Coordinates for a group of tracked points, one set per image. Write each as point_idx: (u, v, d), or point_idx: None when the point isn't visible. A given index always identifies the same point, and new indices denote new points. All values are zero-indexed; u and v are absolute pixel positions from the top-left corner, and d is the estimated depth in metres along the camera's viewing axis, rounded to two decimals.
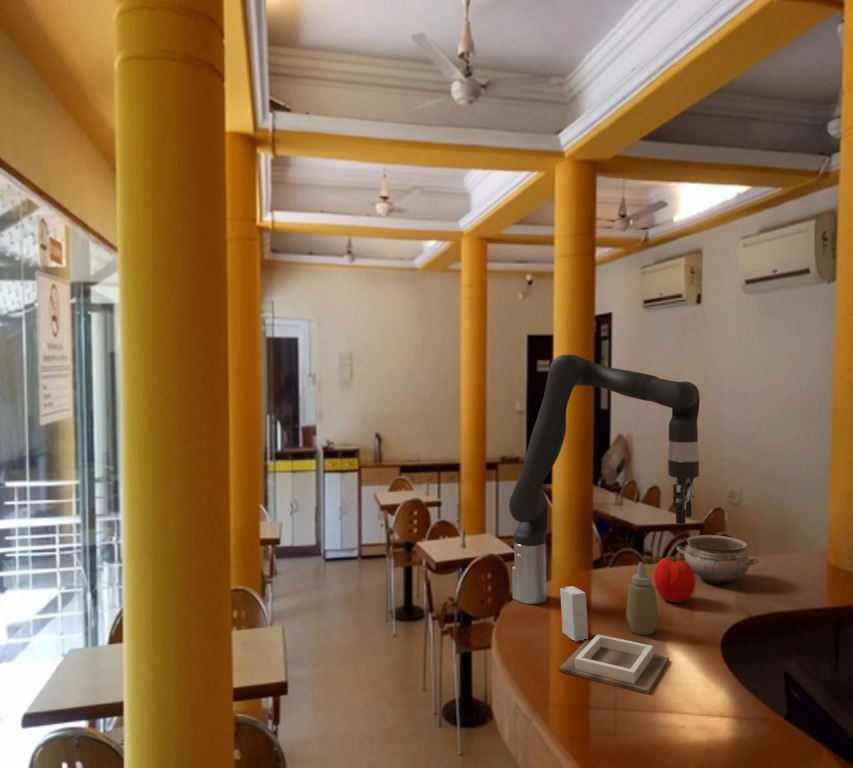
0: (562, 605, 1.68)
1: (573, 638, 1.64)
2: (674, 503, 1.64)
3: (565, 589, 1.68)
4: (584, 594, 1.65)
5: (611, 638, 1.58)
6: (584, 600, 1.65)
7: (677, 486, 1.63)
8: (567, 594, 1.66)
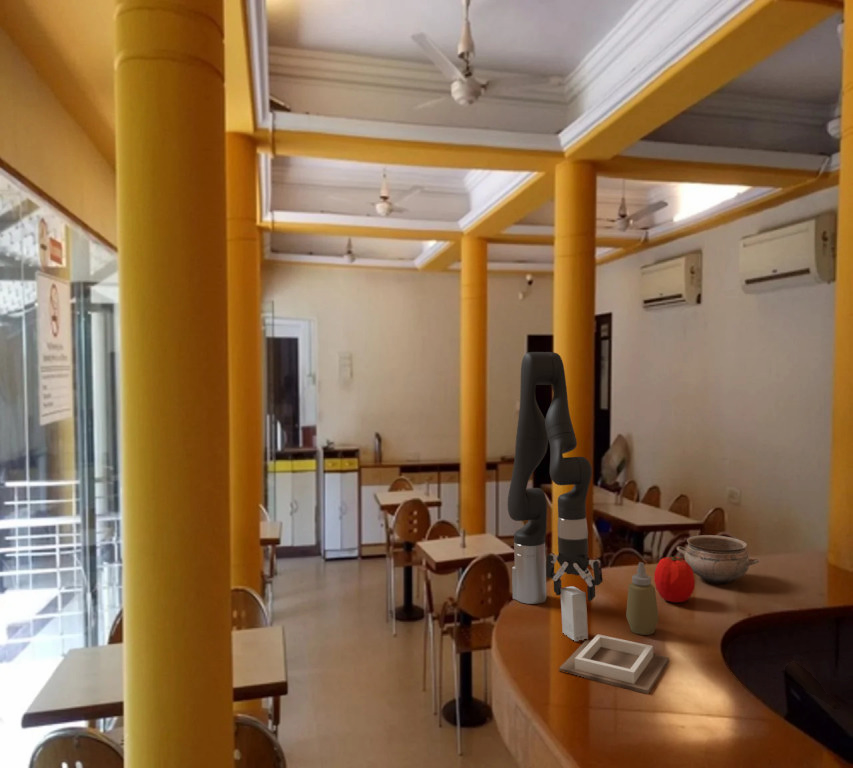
0: (562, 605, 1.68)
1: (573, 638, 1.64)
2: None
3: (565, 589, 1.68)
4: (584, 594, 1.65)
5: (611, 638, 1.58)
6: (584, 600, 1.65)
7: (598, 562, 1.63)
8: (567, 594, 1.66)
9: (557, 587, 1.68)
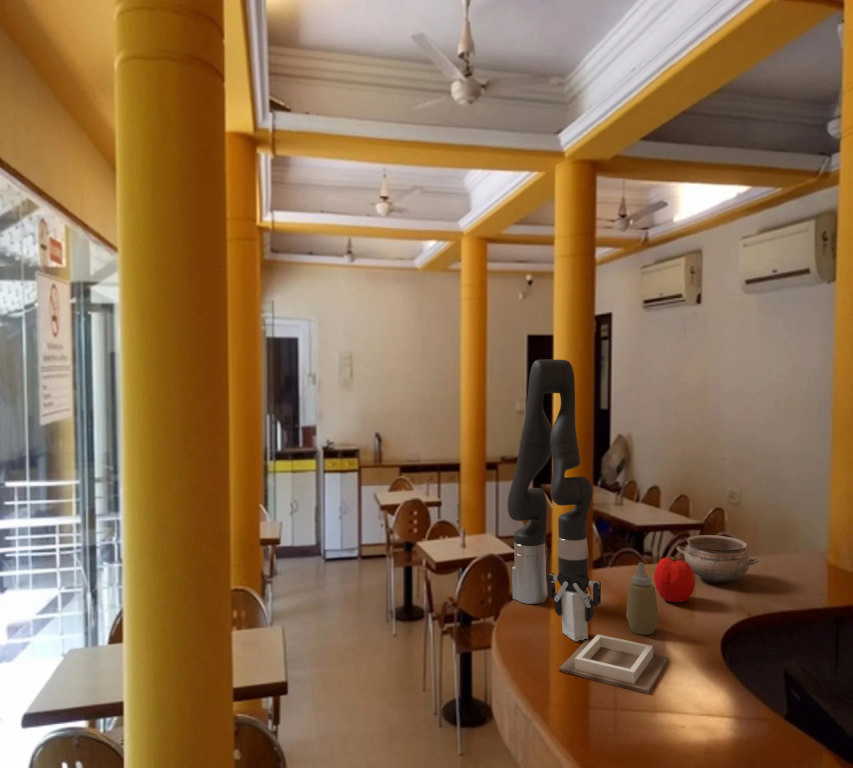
0: (562, 605, 1.68)
1: (573, 638, 1.64)
2: None
3: None
4: None
5: (611, 638, 1.58)
6: None
7: (598, 584, 1.63)
8: (567, 594, 1.66)
9: (558, 607, 1.68)
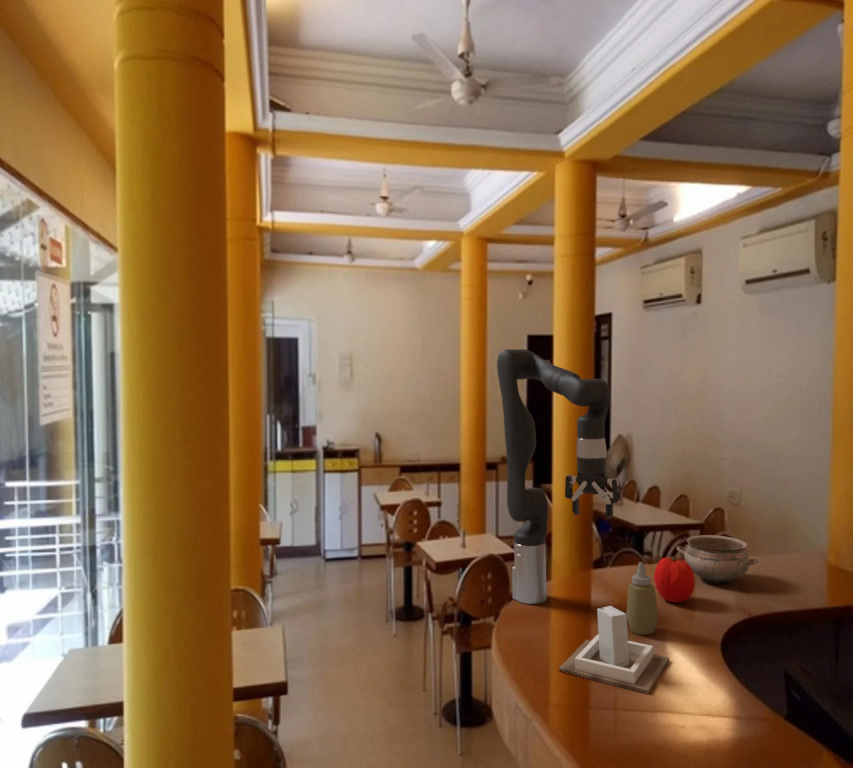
0: (600, 627, 1.51)
1: None
2: None
3: (603, 610, 1.51)
4: (625, 616, 1.48)
5: None
6: (625, 622, 1.48)
7: (617, 480, 1.67)
8: (605, 615, 1.49)
9: (575, 507, 1.72)
